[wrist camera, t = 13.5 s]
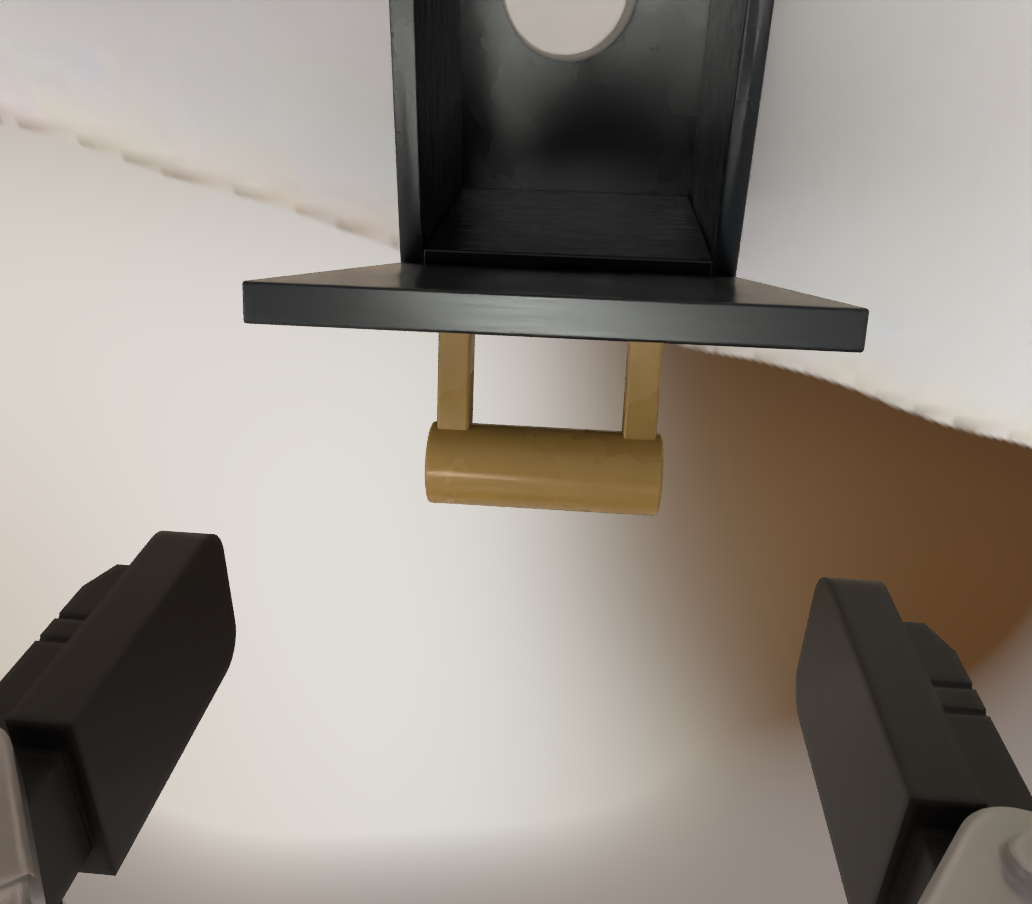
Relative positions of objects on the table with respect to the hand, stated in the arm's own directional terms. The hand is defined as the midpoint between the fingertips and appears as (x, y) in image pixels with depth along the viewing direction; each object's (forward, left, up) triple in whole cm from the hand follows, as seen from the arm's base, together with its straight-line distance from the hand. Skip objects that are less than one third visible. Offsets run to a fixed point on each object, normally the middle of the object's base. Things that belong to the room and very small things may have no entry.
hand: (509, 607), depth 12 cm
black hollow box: (-5, 0, -31) cm, 32 cm away
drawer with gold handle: (0, 0, -13) cm, 13 cm away
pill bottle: (-7, 0, -31) cm, 31 cm away
